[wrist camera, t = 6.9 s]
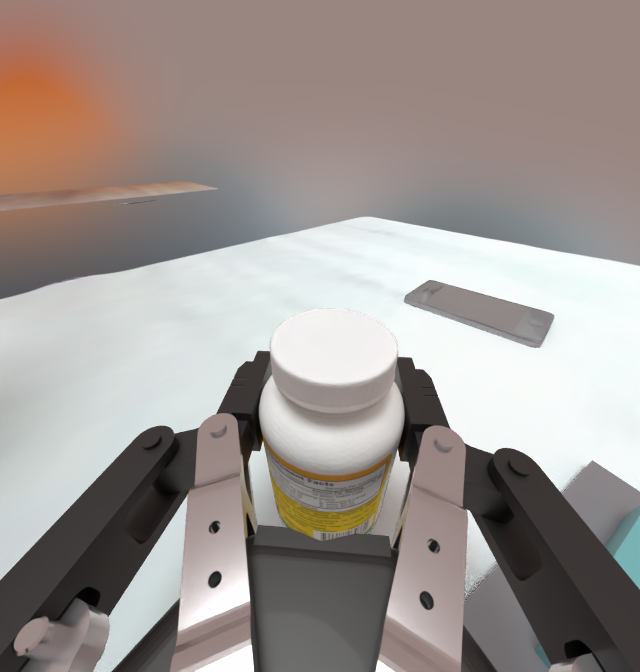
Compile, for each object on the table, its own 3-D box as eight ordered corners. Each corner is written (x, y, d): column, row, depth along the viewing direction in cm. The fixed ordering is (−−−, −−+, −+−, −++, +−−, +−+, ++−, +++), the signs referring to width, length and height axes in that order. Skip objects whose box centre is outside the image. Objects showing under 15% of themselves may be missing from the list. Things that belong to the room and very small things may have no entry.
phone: (536, 353, 28) (541, 344, 27) (400, 305, 37) (401, 297, 37) (551, 323, 33) (556, 314, 32) (427, 286, 42) (429, 279, 41)
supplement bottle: (345, 588, 11) (371, 450, 5) (253, 503, 13) (205, 351, 8) (398, 478, 14) (445, 327, 9) (317, 428, 17) (314, 287, 11)
